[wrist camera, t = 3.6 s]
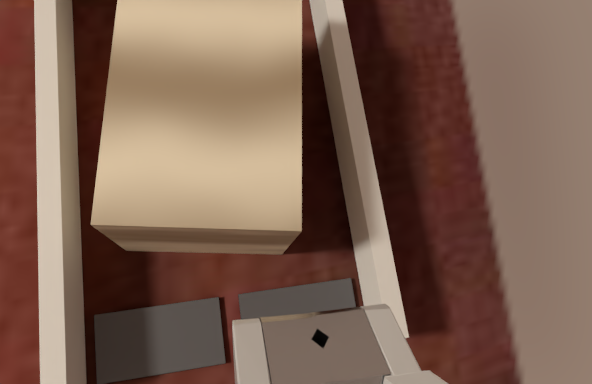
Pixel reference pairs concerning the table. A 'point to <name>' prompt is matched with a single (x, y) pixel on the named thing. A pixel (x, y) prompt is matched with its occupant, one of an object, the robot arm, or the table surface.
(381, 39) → the table surface
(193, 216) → the birch block
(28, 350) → the table surface
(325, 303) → the box
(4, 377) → the table surface
